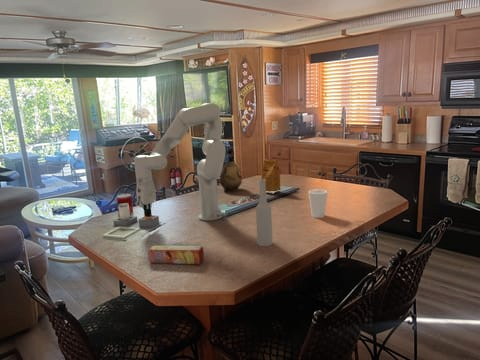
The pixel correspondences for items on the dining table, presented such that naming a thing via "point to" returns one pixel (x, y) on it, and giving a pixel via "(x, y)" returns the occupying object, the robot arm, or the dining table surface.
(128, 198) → the canned food
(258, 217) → the bottle
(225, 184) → the ceramic jug
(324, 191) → the foam cup
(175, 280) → the dining table surface
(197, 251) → the snack package
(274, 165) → the coffee package
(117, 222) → the housing
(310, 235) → the dining table surface
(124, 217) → the cylinder
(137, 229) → the tray
